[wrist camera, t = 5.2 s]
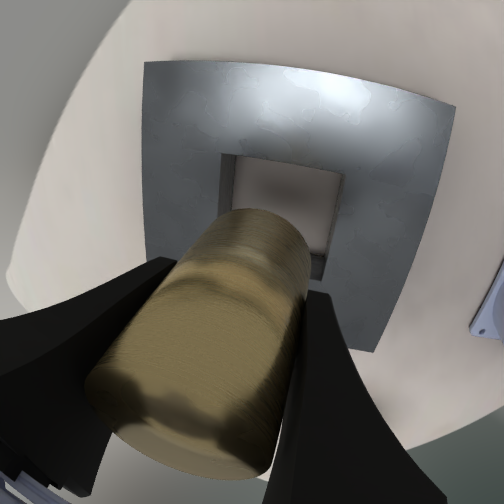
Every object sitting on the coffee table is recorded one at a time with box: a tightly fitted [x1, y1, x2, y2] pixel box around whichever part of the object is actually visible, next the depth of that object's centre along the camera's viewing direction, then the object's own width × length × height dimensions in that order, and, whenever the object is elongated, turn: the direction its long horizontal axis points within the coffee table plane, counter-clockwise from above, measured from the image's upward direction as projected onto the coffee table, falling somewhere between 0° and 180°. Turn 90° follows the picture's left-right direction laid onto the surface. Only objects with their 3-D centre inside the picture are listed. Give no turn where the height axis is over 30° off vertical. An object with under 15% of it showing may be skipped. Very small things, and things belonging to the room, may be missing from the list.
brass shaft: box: [84, 208, 311, 480], centre depth 8 cm, size 4×4×7 cm
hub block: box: [142, 61, 456, 353], centre depth 16 cm, size 14×14×2 cm
